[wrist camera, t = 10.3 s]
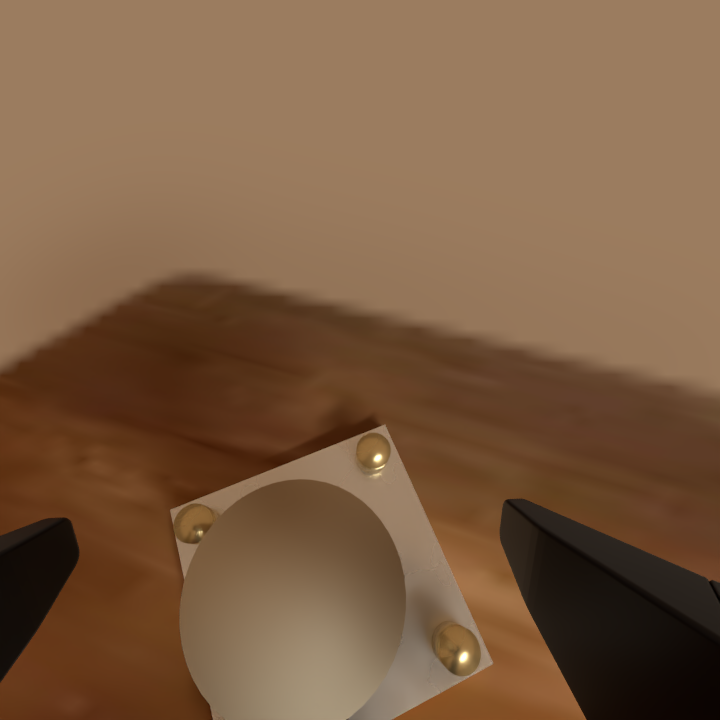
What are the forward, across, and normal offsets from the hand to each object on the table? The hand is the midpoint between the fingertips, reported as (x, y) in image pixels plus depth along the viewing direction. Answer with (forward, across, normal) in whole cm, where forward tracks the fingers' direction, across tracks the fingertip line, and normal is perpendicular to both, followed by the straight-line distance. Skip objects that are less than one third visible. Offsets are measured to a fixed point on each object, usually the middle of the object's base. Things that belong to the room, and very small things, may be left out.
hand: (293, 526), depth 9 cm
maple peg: (+7, 0, -9) cm, 11 cm away
